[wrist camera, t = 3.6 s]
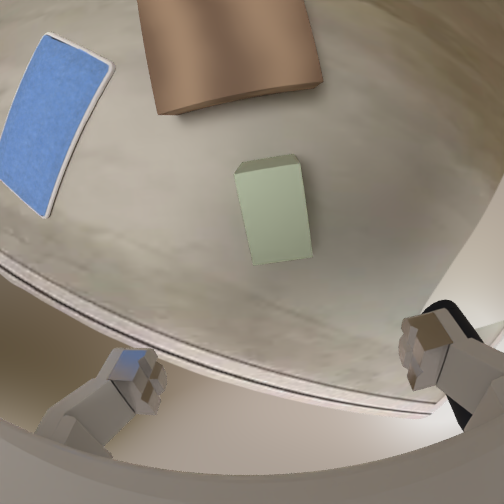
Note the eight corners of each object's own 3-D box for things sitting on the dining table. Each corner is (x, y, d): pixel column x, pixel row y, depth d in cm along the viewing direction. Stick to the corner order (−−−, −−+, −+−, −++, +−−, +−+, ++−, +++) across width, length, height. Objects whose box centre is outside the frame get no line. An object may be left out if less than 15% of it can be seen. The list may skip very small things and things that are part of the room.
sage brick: (293, 153, 24) (299, 163, 19) (304, 228, 27) (312, 257, 22) (242, 162, 25) (233, 174, 19) (257, 235, 28) (253, 265, 22)
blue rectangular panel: (51, 30, 19) (44, 29, 18) (122, 65, 22) (115, 63, 20) (-4, 169, 26) (-10, 172, 25) (51, 219, 29) (45, 223, 28)
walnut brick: (284, -24, 17) (287, -49, 12) (313, 88, 22) (323, 81, 17) (156, 5, 19) (135, -12, 14) (178, 115, 24) (157, 114, 19)
